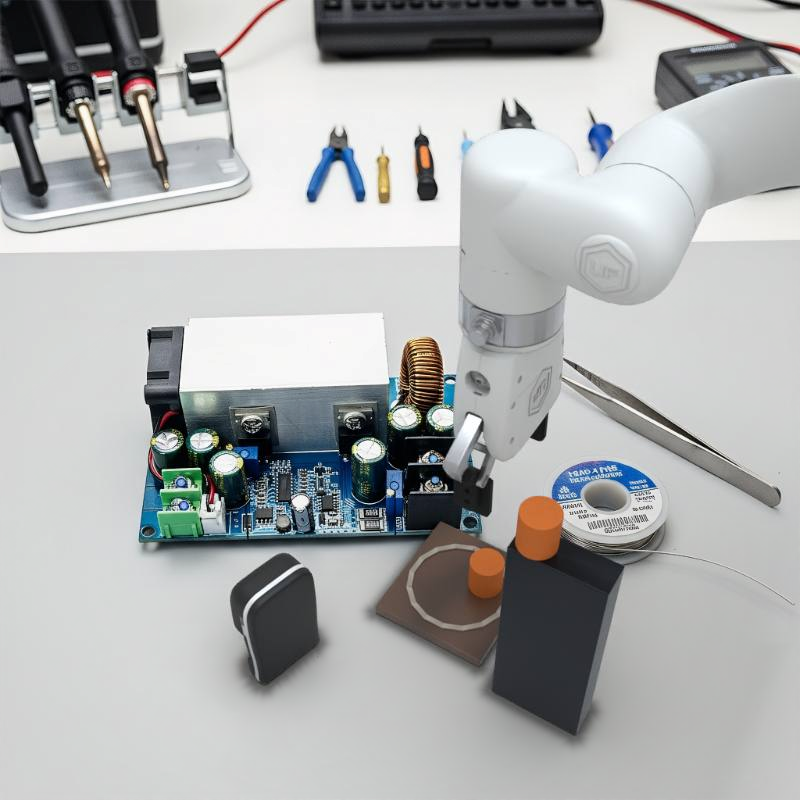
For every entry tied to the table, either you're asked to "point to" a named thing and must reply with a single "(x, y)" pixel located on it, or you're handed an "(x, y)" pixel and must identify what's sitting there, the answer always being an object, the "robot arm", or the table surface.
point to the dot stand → (554, 631)
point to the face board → (445, 596)
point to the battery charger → (276, 614)
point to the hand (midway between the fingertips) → (501, 469)
